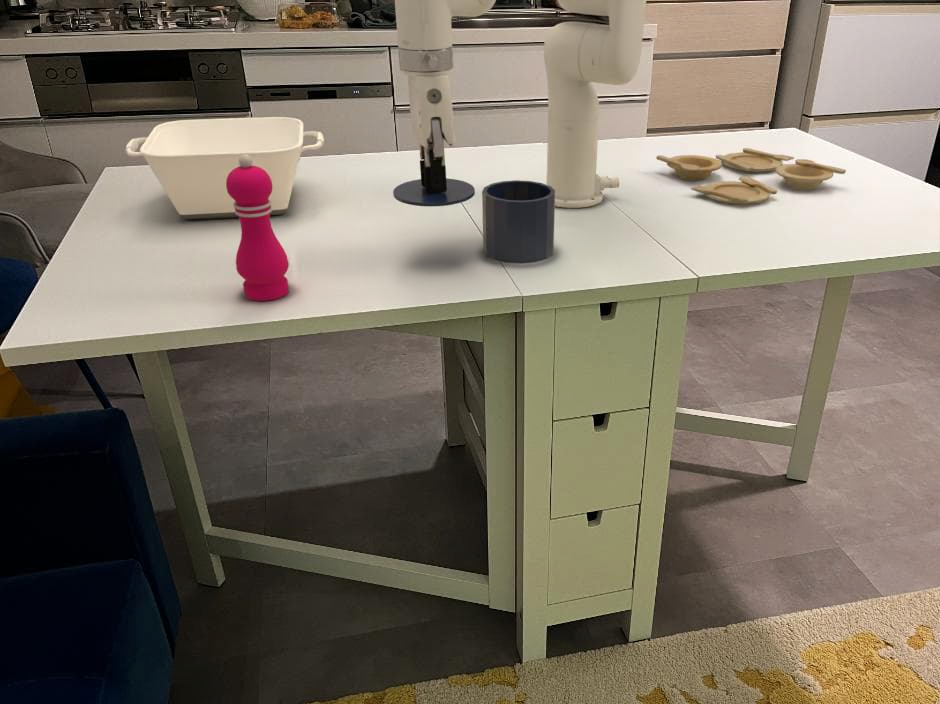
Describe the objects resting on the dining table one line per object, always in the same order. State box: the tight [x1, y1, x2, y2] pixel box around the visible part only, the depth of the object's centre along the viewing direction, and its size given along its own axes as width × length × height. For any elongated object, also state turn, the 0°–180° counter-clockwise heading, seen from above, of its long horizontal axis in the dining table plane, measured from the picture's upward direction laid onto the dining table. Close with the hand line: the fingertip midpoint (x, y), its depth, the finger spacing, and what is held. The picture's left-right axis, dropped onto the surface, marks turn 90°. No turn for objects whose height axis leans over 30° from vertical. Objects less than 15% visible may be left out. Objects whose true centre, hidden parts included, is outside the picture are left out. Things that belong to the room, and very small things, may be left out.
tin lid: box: [392, 161, 476, 208], centre depth 126 cm, size 12×12×6 cm
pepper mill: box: [226, 155, 290, 302], centre depth 117 cm, size 7×7×20 cm
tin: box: [481, 179, 556, 265], centre depth 135 cm, size 11×11×10 cm
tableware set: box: [655, 147, 847, 205], centre depth 175 cm, size 35×29×4 cm
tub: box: [125, 116, 325, 220], centre depth 153 cm, size 34×27×13 cm
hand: (434, 188), depth 127 cm, fingers closed on tin lid, 2 cm apart
